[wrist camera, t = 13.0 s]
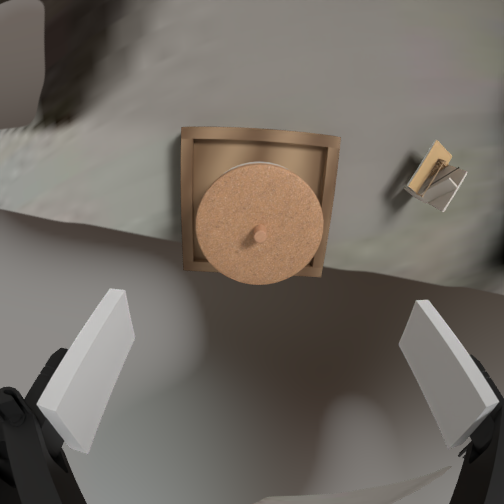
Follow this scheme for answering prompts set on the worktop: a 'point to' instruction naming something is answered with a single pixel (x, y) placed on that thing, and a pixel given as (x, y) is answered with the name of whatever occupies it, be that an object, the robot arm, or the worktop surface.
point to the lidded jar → (259, 223)
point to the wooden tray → (244, 151)
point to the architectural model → (436, 178)
